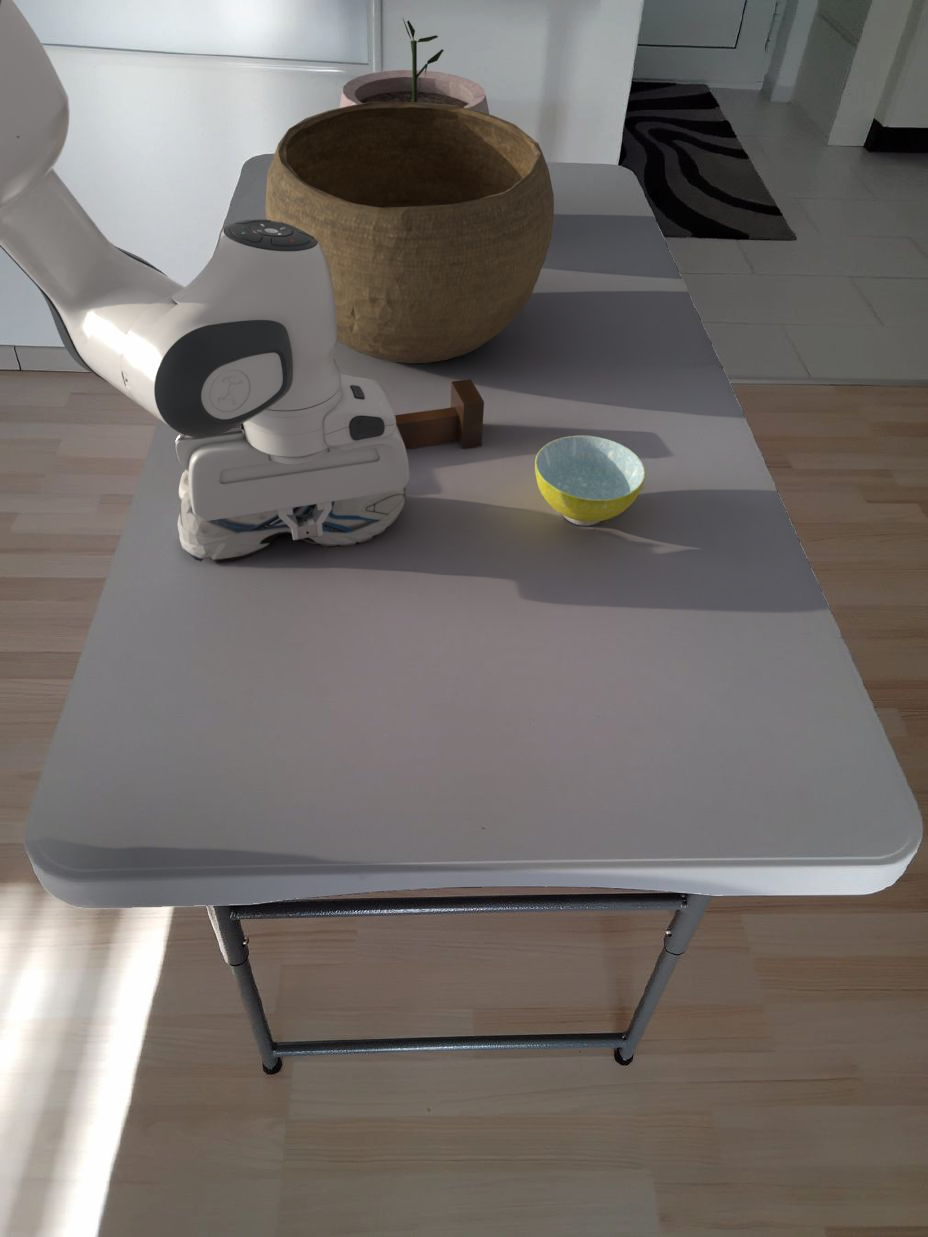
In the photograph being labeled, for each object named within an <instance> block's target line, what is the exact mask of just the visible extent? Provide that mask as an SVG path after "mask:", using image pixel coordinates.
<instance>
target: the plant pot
mask: <svg viewBox="0 0 928 1237" xmlns="http://www.w3.org/2000/svg"><path fill="white" fill-rule="evenodd" d="M402 21H403V23H404V27H405V28H406V33H407V35H408V37H409V38H410V47H411V48H410V49H411V60H412V62H411V69H398V70H384V71H378V72H370V73H367V74H363V75H360V76H357V77H355V78H352V79H351V80H348V82H346V83H345V84H344V85H343V86H342V91H341V96H340V102H339V106H338V108H342V107H346V106H351V105H356V104H362V103H368V102H375V101H380V102H417V103H434V104H447V105H455V106H460V107H464V108H468V109H471V110H475V111H479V112H482V113H486V114H489V115H490V109H489V104H488V101H487V95H486V91H485V88H483V87H482V86H481V85H480V84H479V83H477V82H475V81H473V80H471V79H469V78H466V77H463V76H460V75H457V74H451V73H445V72H441V71H433V70H427V69H428V65H430V64H432V63H435V62H437V61H438V60H439V59H440V57H441V56H442V54H443V52H444V51H445V49H443V48H442V49H440V50H439V51H438V52H437V53H435V54H434V55H432V57H430V58H429V59H428V60H427V61H426V63H424V66H423V67H422V68H421V69H418V50H417V49H418V48H417V47H418V46H417V45H418V43H426V42H427V43H429V42H431V41H432V40H435V39H437V38H439V36H438V35H437V34H435V35H431V36H426V37H422V38H421V37H420V38H419V39H418V40H415V34H416V30H415V28H414V27H413V25H412V23H411V22H410V20H409V19H408V20H407V21H405V19H404V18H402ZM406 23H407V24H406ZM407 26H408V27H407ZM408 28H409V29H408ZM409 31H410V32H409Z"/></svg>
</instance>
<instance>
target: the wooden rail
mask: <svg viewBox="0 0 928 1237" xmlns="http://www.w3.org/2000/svg"><path fill="white" fill-rule="evenodd" d="M484 410H485V401H484V399H483V397H482V395H481V394H480V392H479V390H478V389H477V387H476V385H475V384H474V382H473V379H472V378H468V379H461V380H460V379H459V380H452V381H451V382H450V407H445V408H438V409H431V410H430V409H429V410H423V411H415V412H408V413H402V414H395V418H396V425H397V427H398V430H399V432H400V434H401V437H402V439H403V442H404V445H405V448H406V450H410V449H415V448H416V449H417V448H422V447H423V448H424V447H428V446H430V447H431V446H437V445H443V444H450V443H456V442H457V443H458V444H459V446H460V448H461V449H462V450H467V449H472V448H479V447H482V444H483V431H484V430H483V427H484Z"/></svg>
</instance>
